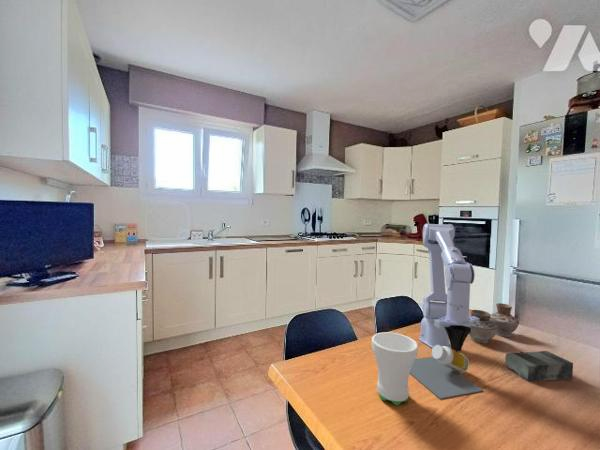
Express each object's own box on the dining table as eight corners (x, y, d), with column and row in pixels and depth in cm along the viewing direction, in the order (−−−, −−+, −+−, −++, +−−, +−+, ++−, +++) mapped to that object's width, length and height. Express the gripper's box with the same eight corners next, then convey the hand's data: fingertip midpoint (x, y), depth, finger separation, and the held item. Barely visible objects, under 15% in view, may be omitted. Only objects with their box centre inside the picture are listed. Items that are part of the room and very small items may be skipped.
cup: (411, 418, 62) (413, 356, 62) (363, 400, 68) (365, 343, 68) (419, 392, 72) (421, 338, 71) (377, 378, 78) (378, 328, 77)
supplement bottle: (464, 350, 83) (440, 338, 81) (472, 367, 78) (447, 355, 76) (450, 359, 86) (427, 348, 84) (458, 376, 81) (433, 365, 79)
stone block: (501, 365, 87) (502, 349, 86) (542, 364, 88) (543, 348, 88) (527, 382, 78) (528, 364, 78) (573, 380, 79) (574, 363, 79)
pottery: (525, 338, 107) (527, 308, 107) (485, 349, 97) (486, 316, 96) (494, 327, 117) (496, 299, 117) (455, 336, 107) (456, 306, 107)
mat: (396, 362, 86) (396, 361, 86) (433, 357, 90) (433, 356, 90) (439, 399, 69) (439, 398, 69) (483, 391, 73) (483, 390, 73)
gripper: (448, 310, 75) (446, 359, 75) (489, 306, 79) (487, 353, 79) (429, 302, 82) (428, 347, 82) (468, 299, 86) (466, 342, 86)
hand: (455, 349), depth 81 cm, fingers closed
